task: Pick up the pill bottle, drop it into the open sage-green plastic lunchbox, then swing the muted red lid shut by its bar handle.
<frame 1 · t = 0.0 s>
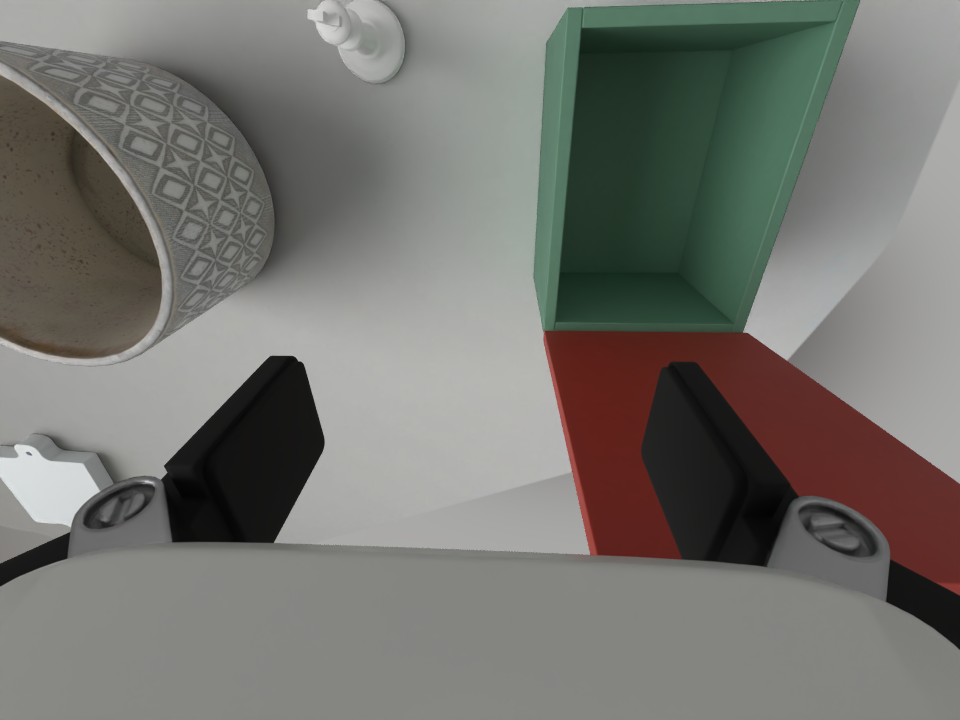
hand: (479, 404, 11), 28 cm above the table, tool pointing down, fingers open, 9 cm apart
chess piece: (372, 43, 30), on the table
planter: (177, 190, 36), on the table
mounting plate: (71, 482, 57), on the table
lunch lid: (693, 442, 21), point 21 cm above the table, hinge at 85.0°
lunchbox: (622, 174, 34), on the table
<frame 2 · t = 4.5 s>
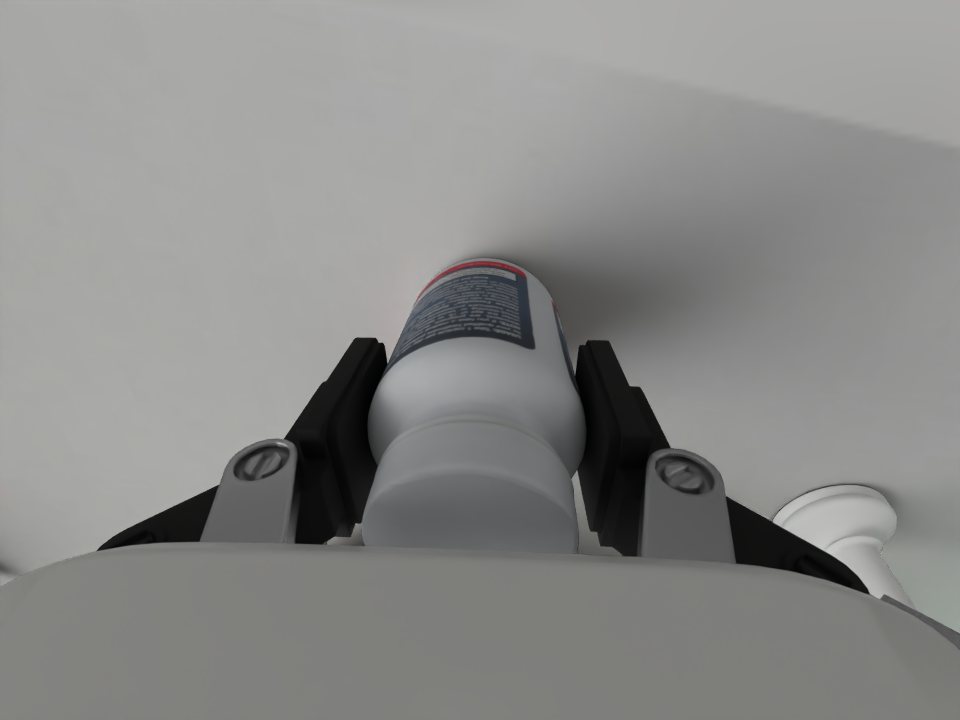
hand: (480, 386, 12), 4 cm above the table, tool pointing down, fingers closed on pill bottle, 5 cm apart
pill bottle: (485, 324, 15), on the table, touching gripper
chess piece: (823, 517, 19), on the table
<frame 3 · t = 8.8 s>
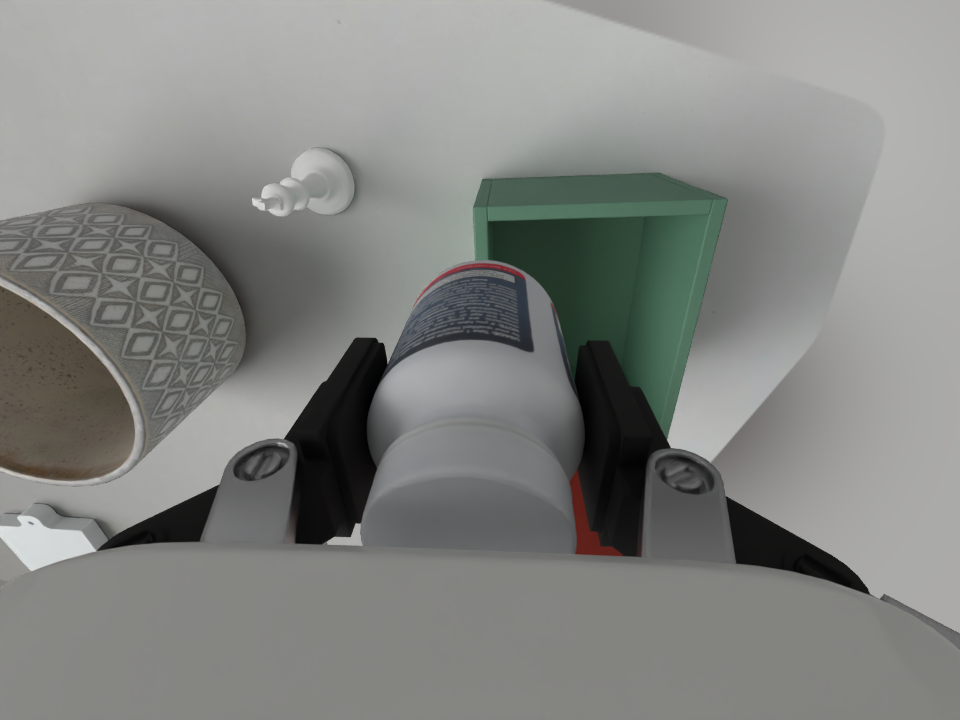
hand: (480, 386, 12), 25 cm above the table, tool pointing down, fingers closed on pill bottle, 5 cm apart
pill bottle: (485, 325, 15), point 21 cm above the table, touching gripper
chess piece: (325, 182, 33), on the table
planter: (157, 301, 39), on the table
mounting plate: (72, 543, 61), on the table
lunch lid: (596, 581, 23), point 21 cm above the table, hinge at 85.0°
lunchbox: (562, 284, 36), on the table
when the fingers open (10 cm above the table, at t = 13.4 s): pill bottle drops 5 cm, resting on lunchbox.
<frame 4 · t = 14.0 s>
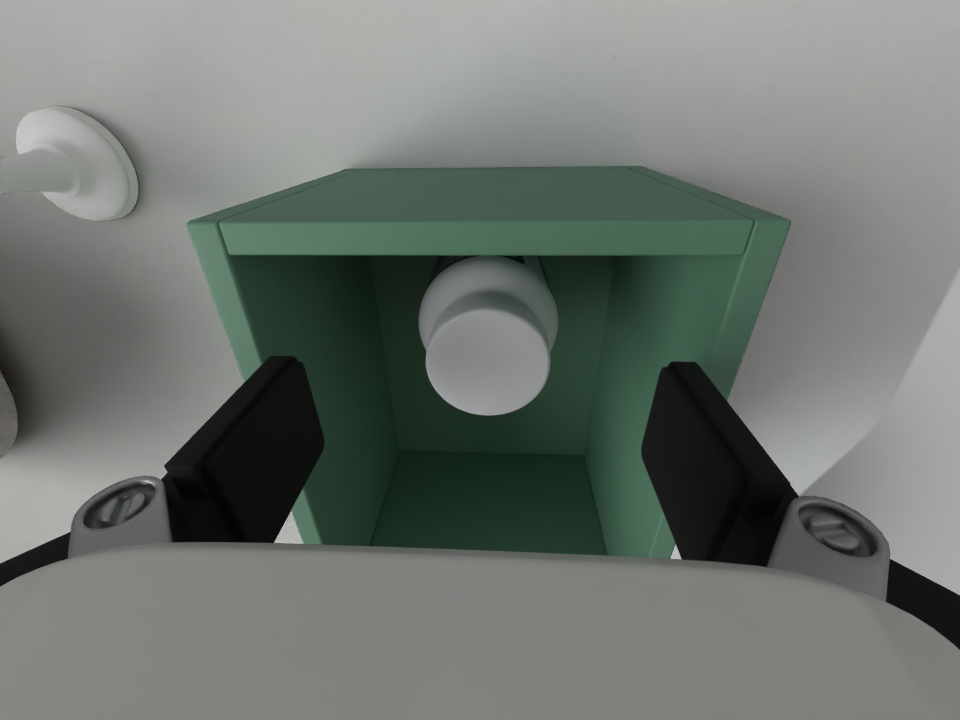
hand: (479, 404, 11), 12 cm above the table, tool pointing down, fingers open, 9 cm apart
pill bottle: (489, 272, 21), point 1 cm above the table, touching lunchbox
chess piece: (89, 166, 20), on the table
lunchbox: (491, 337, 23), on the table
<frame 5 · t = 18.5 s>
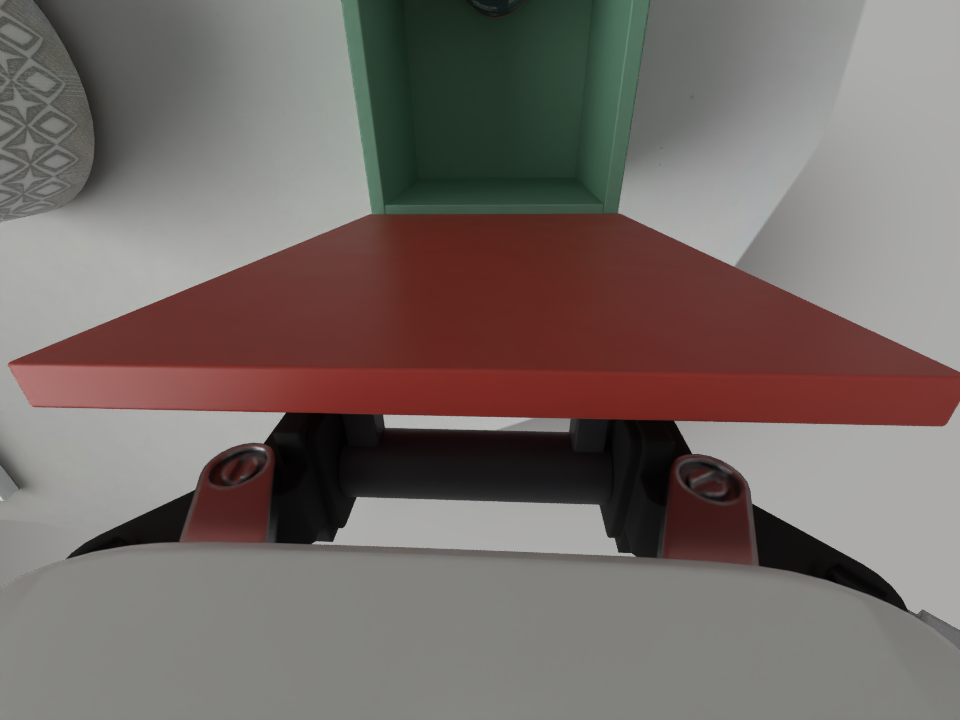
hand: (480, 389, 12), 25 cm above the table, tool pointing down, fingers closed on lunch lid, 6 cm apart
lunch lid: (486, 310, 15), point 21 cm above the table, hinge at 85.0°, touching gripper
lunchbox: (497, 49, 28), on the table
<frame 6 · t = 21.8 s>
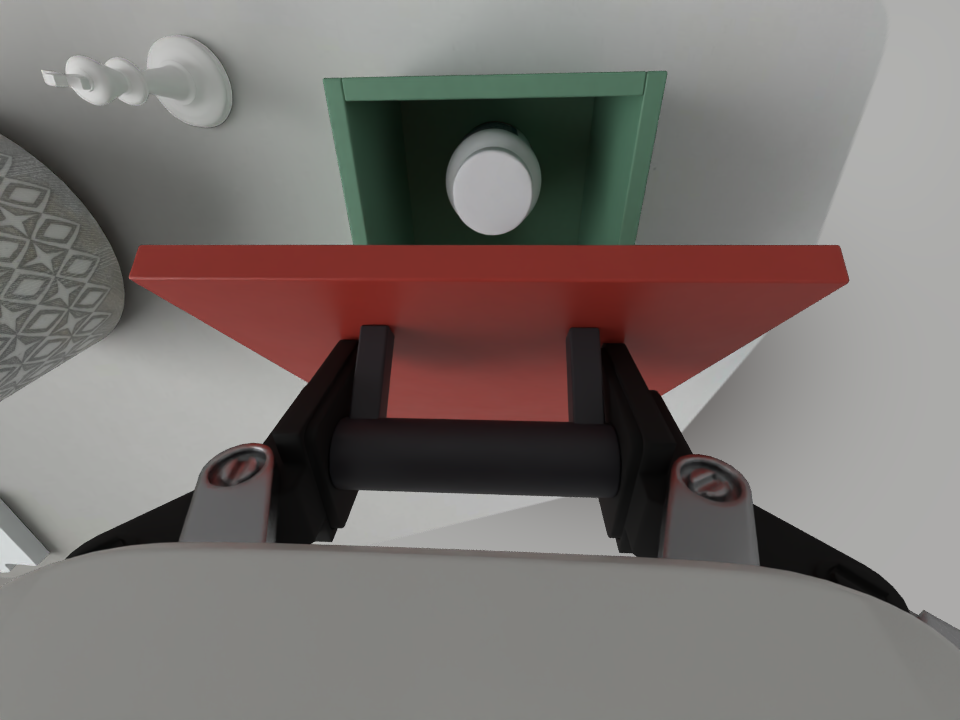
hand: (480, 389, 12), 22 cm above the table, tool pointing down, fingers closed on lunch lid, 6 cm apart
pill bottle: (495, 166, 28), point 1 cm above the table, touching lunchbox
chess piece: (195, 83, 27), on the table
planter: (17, 238, 33), on the table
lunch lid: (485, 431, 16), point 19 cm above the table, hinge at 39.0°, touching gripper
lunchbox: (495, 225, 30), on the table
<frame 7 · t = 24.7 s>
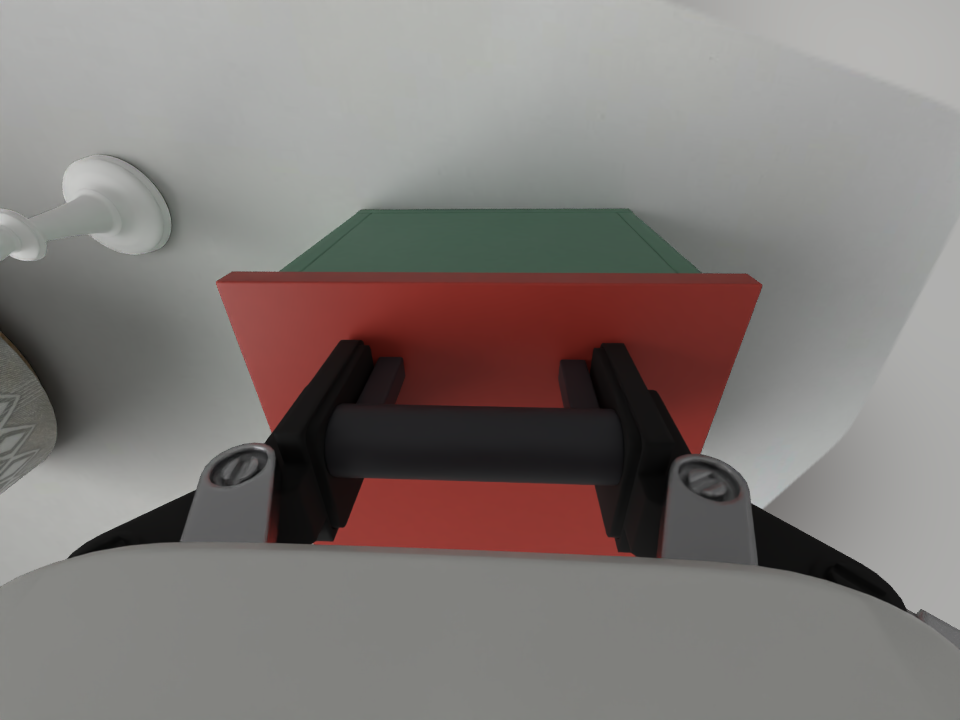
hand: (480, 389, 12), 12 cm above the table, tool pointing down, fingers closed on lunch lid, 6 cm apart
chess piece: (126, 205, 22), on the table
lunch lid: (481, 560, 14), point 14 cm above the table, hinge at -0.2°, touching gripper, lunchbox
lunchbox: (492, 356, 25), on the table
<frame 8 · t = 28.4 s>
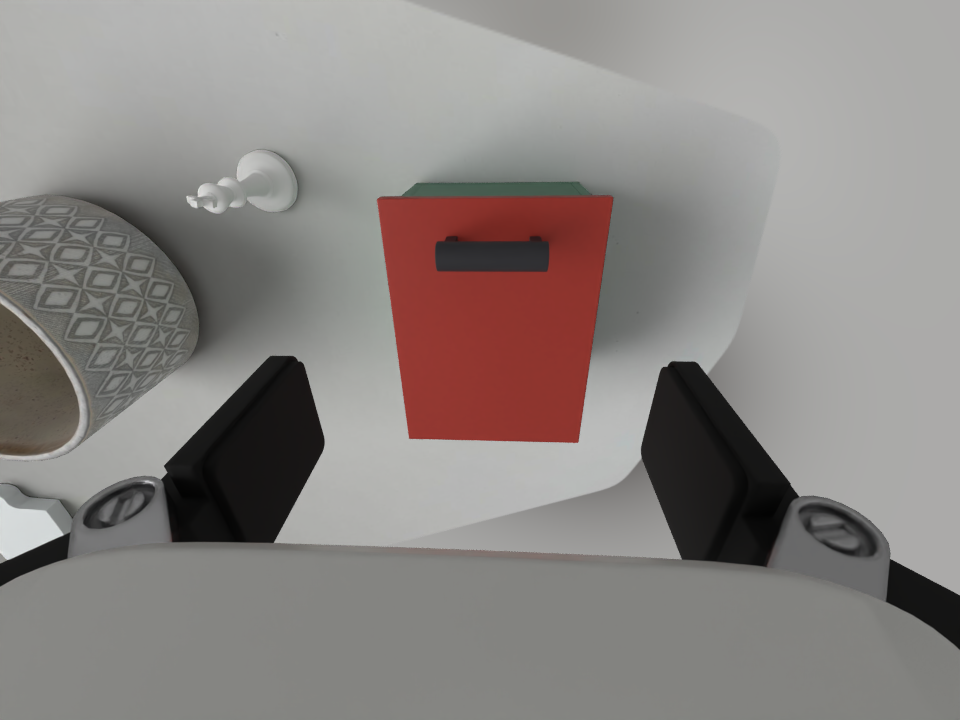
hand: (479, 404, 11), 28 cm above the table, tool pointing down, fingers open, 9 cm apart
chess piece: (270, 181, 35), on the table
planter: (114, 289, 41), on the table
mounting plate: (38, 524, 63), on the table
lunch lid: (492, 350, 27), point 14 cm above the table, hinge at -0.2°, touching lunchbox
lunchbox: (496, 282, 39), on the table
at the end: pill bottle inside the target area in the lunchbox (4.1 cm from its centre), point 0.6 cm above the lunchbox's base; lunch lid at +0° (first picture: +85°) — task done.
